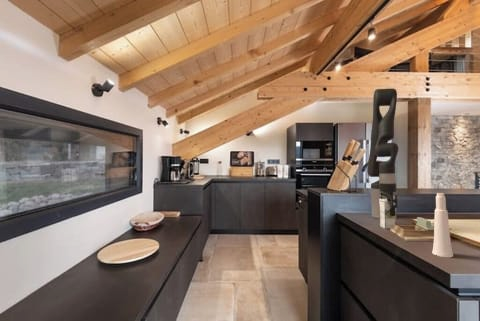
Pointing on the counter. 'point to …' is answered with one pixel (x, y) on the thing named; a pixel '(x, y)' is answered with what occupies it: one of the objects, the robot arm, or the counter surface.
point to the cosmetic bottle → (441, 229)
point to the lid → (426, 224)
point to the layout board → (413, 233)
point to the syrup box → (386, 215)
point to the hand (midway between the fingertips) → (388, 214)
